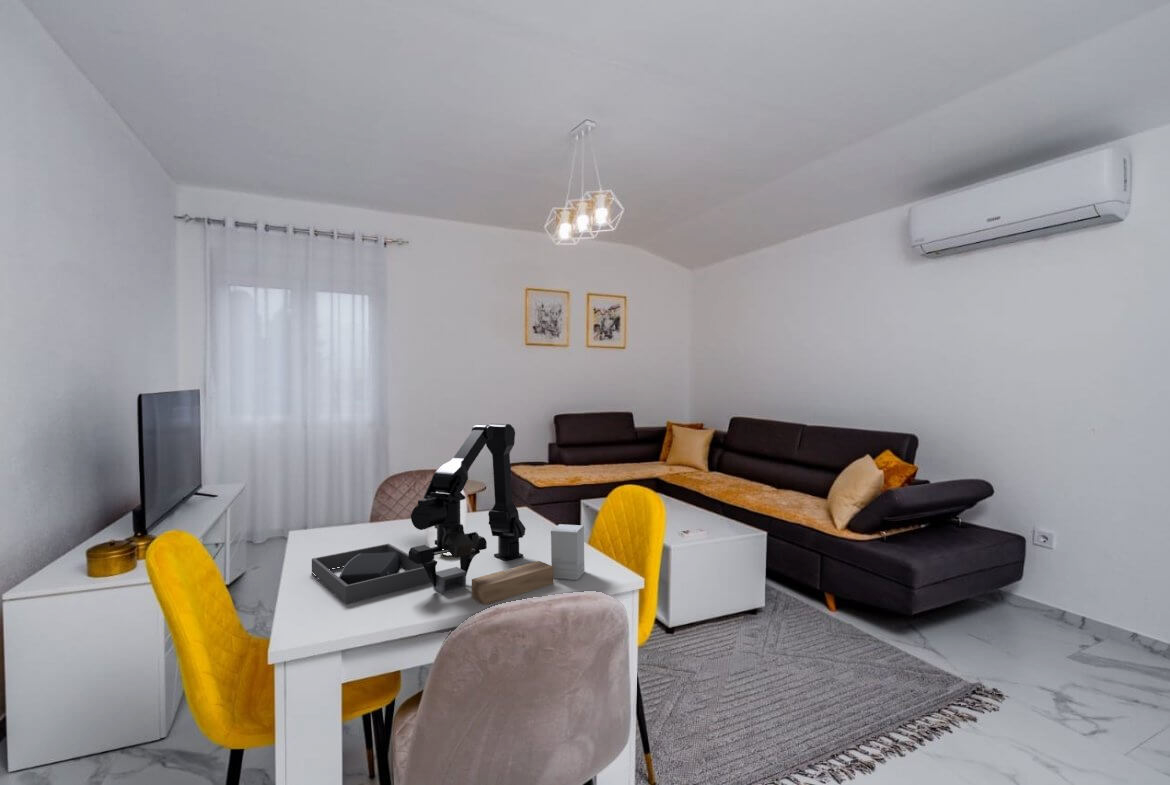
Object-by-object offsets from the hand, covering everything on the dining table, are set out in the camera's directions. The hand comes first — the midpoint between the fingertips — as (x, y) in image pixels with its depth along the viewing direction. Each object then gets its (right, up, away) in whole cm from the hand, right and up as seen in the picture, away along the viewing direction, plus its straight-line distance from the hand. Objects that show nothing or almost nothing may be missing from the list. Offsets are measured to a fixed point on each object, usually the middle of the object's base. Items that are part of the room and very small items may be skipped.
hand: (449, 582), depth 132 cm
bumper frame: (-23, -1, +8) cm, 24 cm away
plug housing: (0, -1, 0) cm, 1 cm away
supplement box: (+29, -1, +9) cm, 31 cm away
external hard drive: (-23, -1, +8) cm, 24 cm away
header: (+15, -1, 0) cm, 15 cm away
